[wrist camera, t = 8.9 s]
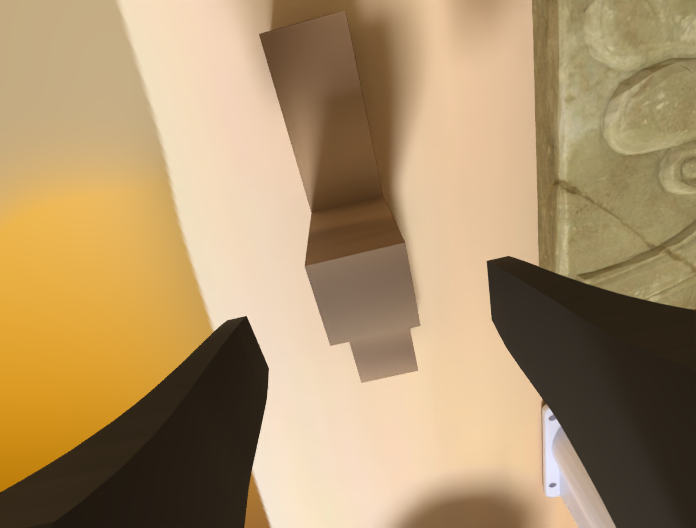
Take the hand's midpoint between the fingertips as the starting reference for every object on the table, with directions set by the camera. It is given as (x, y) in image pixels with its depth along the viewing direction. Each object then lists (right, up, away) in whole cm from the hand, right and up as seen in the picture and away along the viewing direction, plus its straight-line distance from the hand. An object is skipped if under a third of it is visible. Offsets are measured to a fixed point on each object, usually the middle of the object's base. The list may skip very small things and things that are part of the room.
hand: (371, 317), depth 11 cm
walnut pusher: (-1, +4, +8) cm, 9 cm away
